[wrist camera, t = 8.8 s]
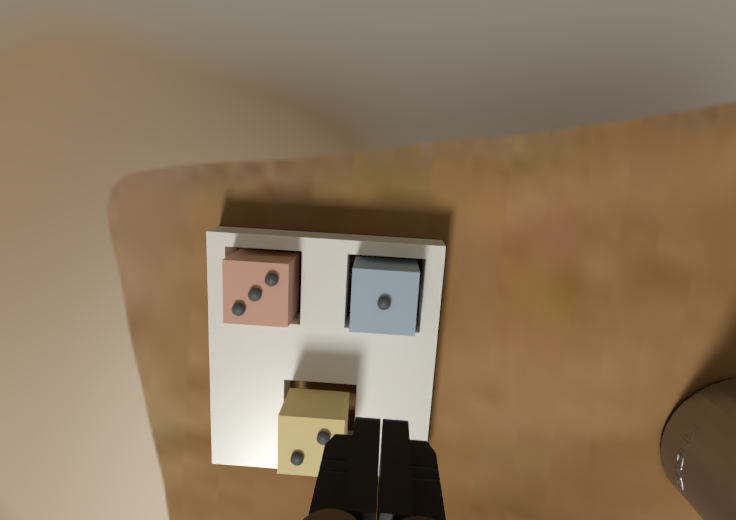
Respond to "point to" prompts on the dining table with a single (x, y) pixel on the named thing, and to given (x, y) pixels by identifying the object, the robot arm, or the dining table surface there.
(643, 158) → the dining table surface
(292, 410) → the tile two
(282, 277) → the tile three
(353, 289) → the tile one
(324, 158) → the dining table surface
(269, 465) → the tile board
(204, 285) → the dining table surface
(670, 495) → the dining table surface
